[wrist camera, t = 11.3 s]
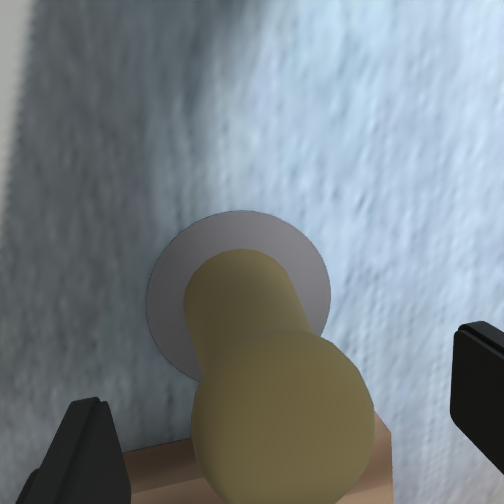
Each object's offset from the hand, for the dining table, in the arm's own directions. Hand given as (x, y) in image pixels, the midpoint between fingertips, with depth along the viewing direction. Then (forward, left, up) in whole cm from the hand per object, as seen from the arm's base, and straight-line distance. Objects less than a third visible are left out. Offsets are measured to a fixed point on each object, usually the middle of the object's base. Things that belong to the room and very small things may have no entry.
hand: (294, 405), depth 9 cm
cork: (+1, 0, -10) cm, 10 cm away
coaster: (+1, 0, -11) cm, 11 cm away
